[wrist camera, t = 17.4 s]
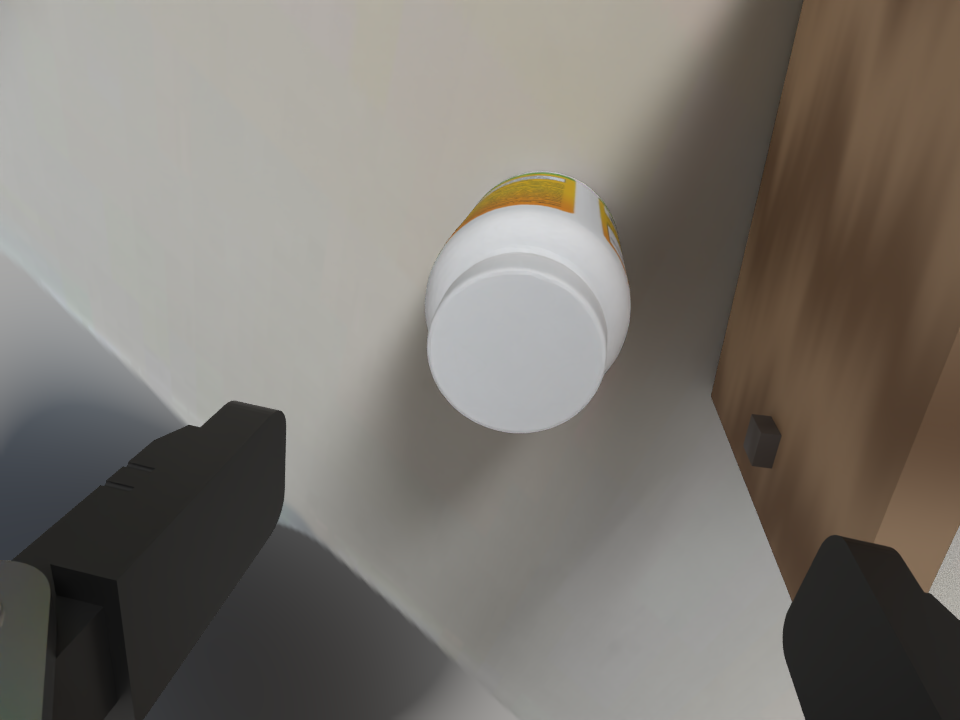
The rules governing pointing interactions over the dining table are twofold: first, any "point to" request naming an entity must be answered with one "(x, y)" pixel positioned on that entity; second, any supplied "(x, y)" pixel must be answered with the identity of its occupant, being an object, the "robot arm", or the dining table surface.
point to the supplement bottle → (528, 304)
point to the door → (854, 292)
